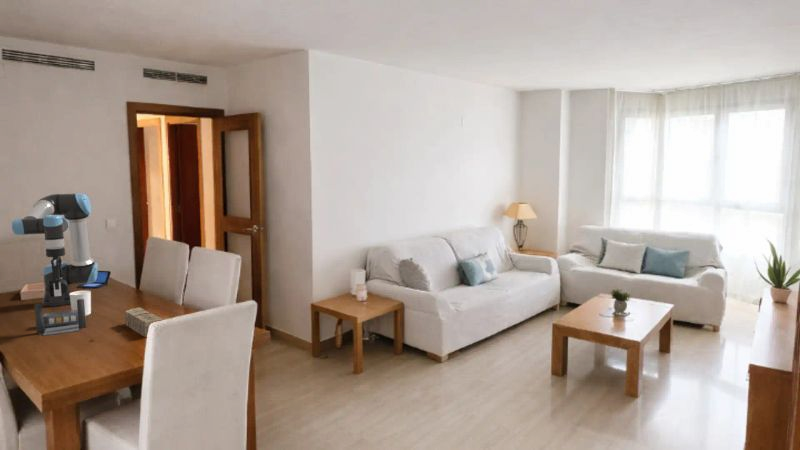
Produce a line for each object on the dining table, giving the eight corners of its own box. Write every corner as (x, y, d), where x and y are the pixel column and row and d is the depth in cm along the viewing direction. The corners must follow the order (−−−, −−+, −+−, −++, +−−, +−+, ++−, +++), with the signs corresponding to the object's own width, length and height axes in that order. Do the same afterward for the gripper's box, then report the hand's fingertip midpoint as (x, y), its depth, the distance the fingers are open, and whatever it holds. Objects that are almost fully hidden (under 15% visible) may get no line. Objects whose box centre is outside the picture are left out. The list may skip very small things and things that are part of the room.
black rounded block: (67, 295, 242) (66, 281, 241) (49, 297, 238) (48, 283, 237) (67, 291, 250) (66, 277, 249) (50, 293, 246) (49, 279, 245)
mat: (45, 329, 247) (45, 328, 247) (79, 324, 254) (79, 324, 254) (43, 335, 238) (43, 335, 238) (78, 331, 245) (78, 330, 245)
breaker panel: (45, 325, 254) (44, 313, 253) (82, 320, 262) (81, 309, 261) (43, 329, 247) (42, 317, 247) (82, 324, 255) (81, 312, 254)
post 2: (79, 327, 251) (77, 299, 249) (86, 326, 252) (84, 298, 251) (78, 328, 248) (76, 300, 246) (86, 327, 250) (83, 300, 248)
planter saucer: (26, 292, 319) (25, 284, 319) (64, 288, 329) (63, 281, 329) (21, 300, 301) (20, 291, 301) (61, 295, 311) (60, 287, 310)
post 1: (37, 332, 242) (34, 304, 241) (44, 331, 244) (42, 303, 242) (36, 334, 240) (33, 305, 238) (44, 333, 241) (41, 304, 240)
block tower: (125, 326, 255) (146, 338, 234) (123, 310, 254) (144, 320, 234) (141, 323, 260) (163, 334, 240) (140, 307, 260) (162, 317, 239)
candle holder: (82, 317, 266) (80, 295, 265) (66, 316, 268) (64, 294, 267) (96, 312, 276) (95, 290, 274) (81, 311, 278) (79, 290, 276)
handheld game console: (76, 288, 331) (75, 274, 330) (91, 283, 344) (90, 270, 343) (98, 289, 329) (97, 275, 328) (112, 284, 342) (111, 270, 341)
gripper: (48, 245, 249) (52, 289, 252) (42, 252, 230) (46, 299, 232) (66, 244, 253) (69, 287, 255) (62, 250, 233) (66, 297, 236)
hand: (59, 293), depth 244 cm, fingers closed on black rounded block, 10 cm apart
